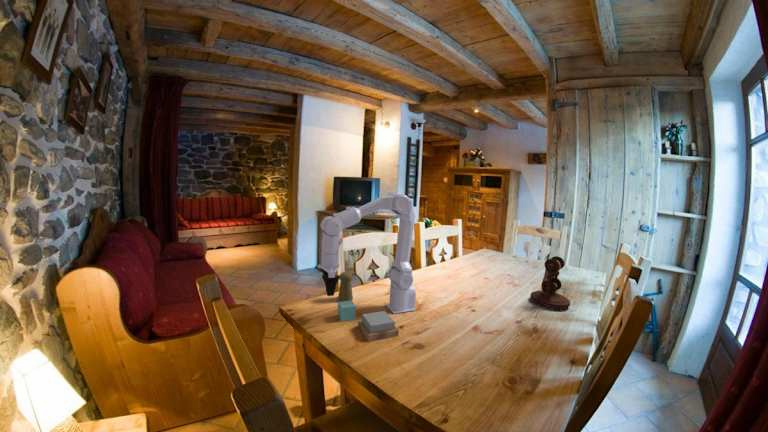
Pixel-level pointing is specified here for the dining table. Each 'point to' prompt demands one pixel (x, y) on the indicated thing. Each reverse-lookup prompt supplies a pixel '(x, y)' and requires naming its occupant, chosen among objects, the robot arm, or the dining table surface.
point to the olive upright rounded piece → (345, 287)
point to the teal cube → (346, 310)
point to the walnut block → (377, 335)
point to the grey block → (378, 322)
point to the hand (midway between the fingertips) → (329, 291)
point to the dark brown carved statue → (551, 285)
